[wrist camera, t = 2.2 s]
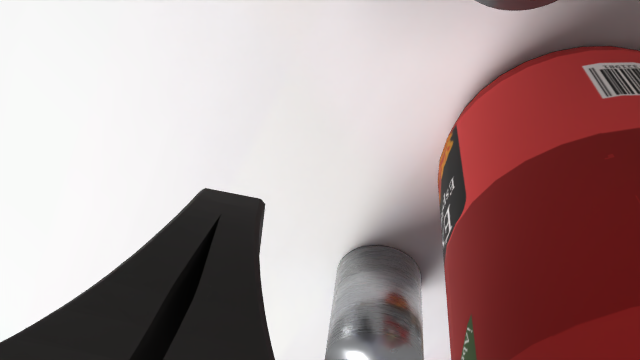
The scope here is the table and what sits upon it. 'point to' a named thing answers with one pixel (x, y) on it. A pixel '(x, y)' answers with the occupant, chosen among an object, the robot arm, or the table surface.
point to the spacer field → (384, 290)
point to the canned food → (546, 211)
